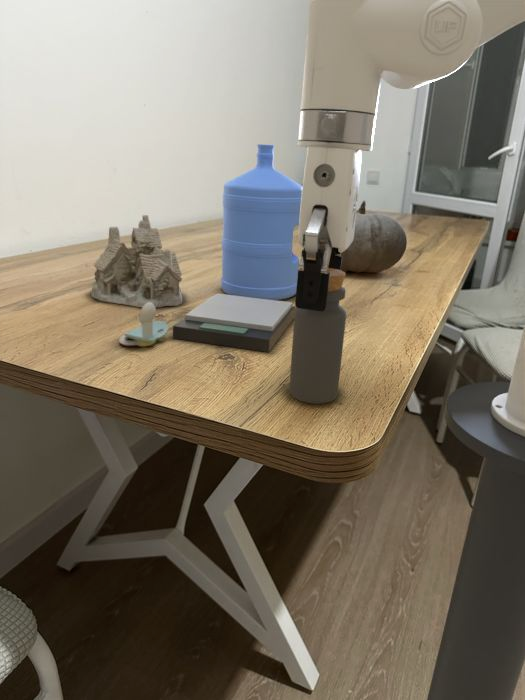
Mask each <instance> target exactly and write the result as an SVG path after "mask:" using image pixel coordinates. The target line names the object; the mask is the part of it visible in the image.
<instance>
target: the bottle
mask: <svg viewBox="0 0 525 700" xmlns="http://www.w3.org/2000/svg"><path fill="white" fill-rule="evenodd" d="M327 272H328V273H330V278H329V287H328V296H327V305H326V309H325V310H324V311H315V310H308V309H301V308H297V307H296V306H295V307H296V309H295V317H294V319H293V331H292V332H293V333H292V346H291V358H290V359H291V360H290V372H289V373H290V375H289V395H290V396H291V397H292V398H293V399H295V400H297V401H299V402H303V403H307V404H311V405H312V404H313V405H323V404H328V403H332V402H333V401H334V400H336V398H337V397H338V392H339V385H340V374H341V369H342V359H343V358H342V357H343V349H344V340H345V339H344V338H345V332H346V331H345V330H346V321H347V311H346V310H345V308H344V307H343V306H341V305H340V302H341V301H342V300H344V299H345V298H346V291H347V290H346V288H345V287H343V283H344V280H345V277H346V272H343V271H341V270H338V269H333V268H328V270H327Z"/></svg>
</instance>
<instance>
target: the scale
mask: <svg viewBox="0 0 525 700" xmlns="http://www.w3.org/2000/svg"><path fill="white" fill-rule="evenodd" d="M295 309H296V306H295V305H293V302H290V301H285V300H268V299H259V298H251V297H243V296H235V295H228V294H227V293H214V294H213V295H212V296H211V297H209V298H208V299H206V300H205V301H203V302H202V303H200V304H199V305H198V306H196V307H195V308H193V309H192V310H190V311H189V312H187V313H185V316H184V318H182V319H181V320H179V321H178V322H176V323H175V324H174V325H173V326H172V339H175V340H181V341H189V342H195V343H204V344H210V345H216V346H217V345H218V346H224V347H230V348H237V349H244V350H251V351H257V352H263V353H269V352H270V351H271V350H272V348H273V347H274V346H275V344H276V343H277V342H278V340H279V339H280V338H281V336H283V334H284V332H285V331H286V330H287V328H289V326H290V325H291V323H292V322H293V321H294V317H295Z"/></svg>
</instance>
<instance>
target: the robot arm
mask: <svg viewBox="0 0 525 700" xmlns="http://www.w3.org/2000/svg"><path fill="white" fill-rule="evenodd" d="M523 22H525V0H310V3H309V8H308V15H307V28H306V29H307V30H306V40H305V52H304V63H303V64H304V65H303V76H302V89H301V102H300V112H299V122H298V123H299V124H298V134H297V147H301V148H302V147H305V148H307V149H306V155H305V163H304V168H303V170H304V171H303V177H302V196H301V206H300V217H299V225H298V236H297V237H298V244H299V245H300V247H301V248H302V250H301V256H300V259H299V269H298V278H297V289H296V294H295V300H294V301H295V302H294V306H295V307H297V308H301V309H308V310H315V311H324V310H325V309H326V305H327V296H328V287H329V278H330V273H328V272H327V270H328V268H333V269H338V270H341V264H342V256H341V253H342V252H343V251H345V250H346V249H347V248H348V247H349V246H350V244H351V243H352V241H353V239H354V231H355V220H356V212H357V211H358V210H357V209H358V201H359V200H358V199H359V191H360V180H361V170H362V169H361V168H362V166H361V165H362V152H372V151H373V143H374V135H375V128H376V122H377V121H376V120H377V113H378V106H379V97H380V90H381V84H382V79H383V80H384V82H385V83H387V84H388V85H390V86H391V87H393V88H396V89H400V90H412V89H417V88H420V87H421V86H425V85H427V84H429V83H432V82H436V81H438V80H441V79H443V78H445V77H448V76H450V75H451V74H454V73H455V72H456V71H458V70H459V69H460V68H462V67H463V66H464V65H465V64H466V63H467V62H468V61H469V59H470V58H471V57H472V55H473V54H474V53H475V51H476V49H478V48H479V47H481V46H483V45H484V44H486V43H488V42H489V41H491V40H493V39H494V38H496V37H498V36H500V35H501V34H503V33H505V32H506V31H508V30H510V29H512V28H514V27H516V26H517V25H520V24H521V23H523ZM336 255H340V256H336ZM509 382H510V387H509V391H508V393H504V394H501V395H498V396H497V397H495V398H494V399H493V401H492V404H491V413H492V415H493V417H494V418H495V419H496V420H497V421H498V422H499V423H500V424H501V425H503V426H504V427H505V428H507V429H509V430H511V431H512V432H514V433H516V434H518V435H521V436H523V437H525V324H524V325H523V328H522V334H521V337H520V342H519V346H518V350H517V354H516V359H515V362H514V366H513V371H512V375H511V379H510V381H509Z"/></svg>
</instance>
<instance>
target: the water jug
mask: <svg viewBox="0 0 525 700" xmlns="http://www.w3.org/2000/svg"><path fill="white" fill-rule="evenodd" d="M256 146H257V153H256V166H255V167H254V168H252V169H251V170H248V171H247V172H245V173H243V174H241V175H239V176H237V177H235V178H233V179H231V180H229V181H226V182H225V183H224V184H223V193H222V207H223V208H222V236H221V250H222V257H221V259H222V263H221V264H222V265H221V278H220V279H221V280H220V282H221V283H220V285H221V289H222V291H223V292H224V294H226V295H235V296H243V297H251V298H259V299H268V300H276V301H283V300H287V299H290V298H291V297H294V296H296V289H297V278H298V270H299V264H300V259H299V257H298V256H297V255H296V254H294V253H293V241H294V230H295V228H296V226H299V217H300V206H301V196H302V187H303V185H301V184H300V183H297V182H296V181H294V180H293V179H292V178H290V177H288V176H286V175H284V174H283V173H281V172H280V171H278V170H277V169H275V167H274V158H275V154H274V149H275V144H258V143H257V144H256Z"/></svg>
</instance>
